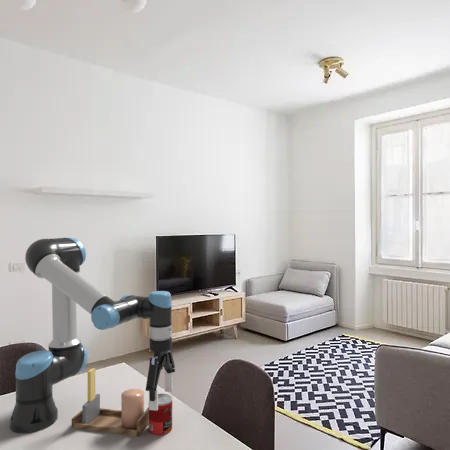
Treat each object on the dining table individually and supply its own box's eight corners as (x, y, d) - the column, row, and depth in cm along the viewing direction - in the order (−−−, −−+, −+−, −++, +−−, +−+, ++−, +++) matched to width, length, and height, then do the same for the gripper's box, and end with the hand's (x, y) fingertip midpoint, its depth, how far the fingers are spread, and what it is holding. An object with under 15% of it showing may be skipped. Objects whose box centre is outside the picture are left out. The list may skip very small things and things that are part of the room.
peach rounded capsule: (117, 430, 127) (117, 397, 127) (127, 418, 134) (127, 387, 134) (138, 432, 125) (138, 399, 125) (147, 420, 133) (147, 389, 133)
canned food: (167, 438, 123) (167, 404, 123) (144, 435, 125) (145, 402, 125) (175, 426, 131) (175, 394, 131) (153, 423, 132) (153, 392, 132)
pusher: (82, 426, 129) (82, 374, 129) (96, 412, 138) (96, 364, 138) (85, 426, 128) (85, 375, 128) (99, 413, 137) (99, 365, 137)
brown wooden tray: (71, 429, 128) (71, 413, 128) (90, 412, 140) (90, 397, 140) (139, 438, 123) (139, 421, 123) (153, 420, 134) (153, 404, 134)
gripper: (157, 350, 115) (157, 419, 114) (182, 328, 139) (183, 385, 139) (134, 348, 116) (135, 417, 116) (163, 327, 140) (164, 383, 140)
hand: (161, 400), depth 127 cm, fingers open, 13 cm apart
